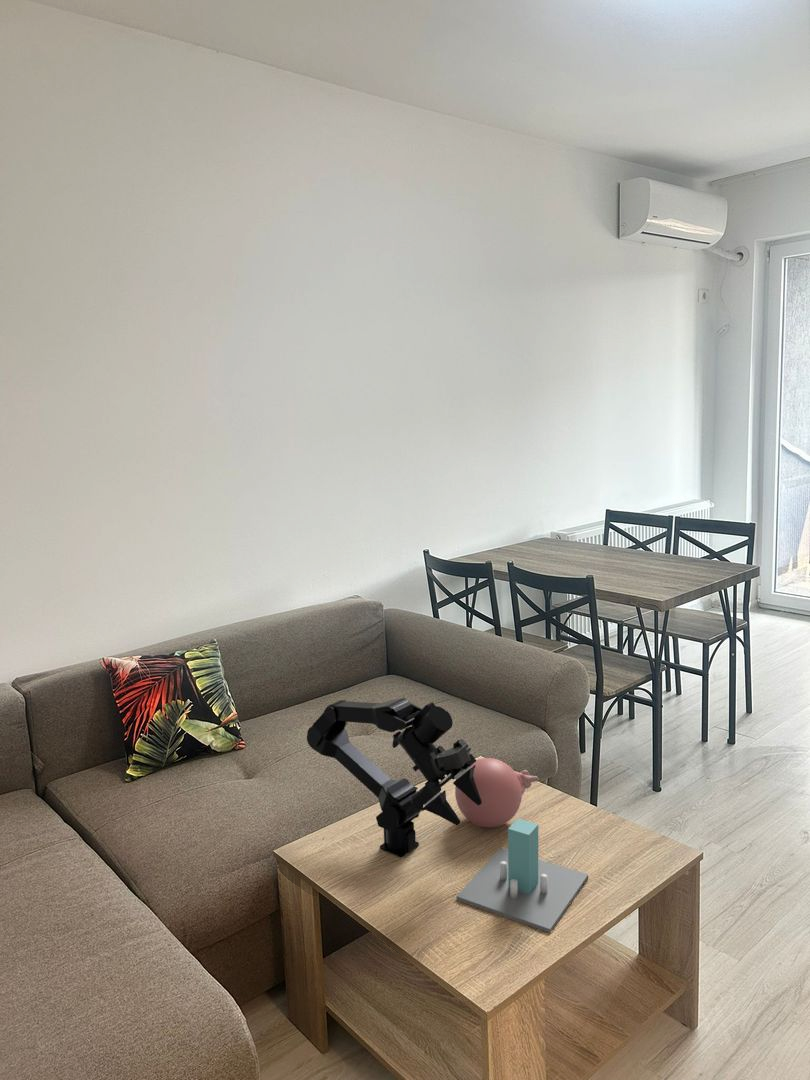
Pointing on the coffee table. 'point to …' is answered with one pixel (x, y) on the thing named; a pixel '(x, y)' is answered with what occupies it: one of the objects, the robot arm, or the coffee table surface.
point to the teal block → (523, 855)
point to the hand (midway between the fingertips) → (470, 813)
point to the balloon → (494, 793)
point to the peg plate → (528, 909)
